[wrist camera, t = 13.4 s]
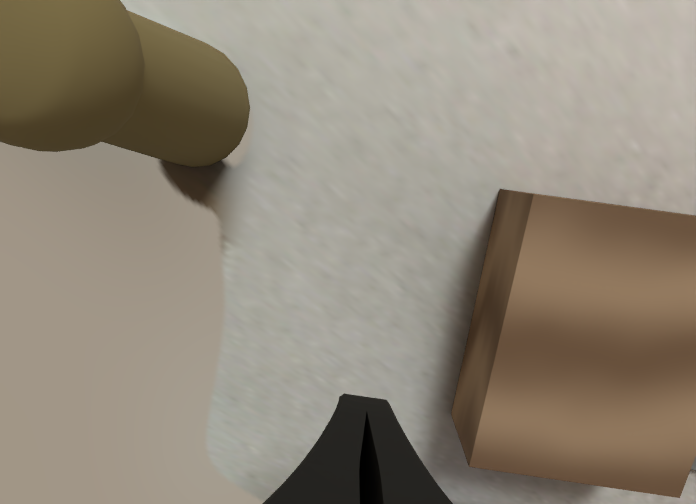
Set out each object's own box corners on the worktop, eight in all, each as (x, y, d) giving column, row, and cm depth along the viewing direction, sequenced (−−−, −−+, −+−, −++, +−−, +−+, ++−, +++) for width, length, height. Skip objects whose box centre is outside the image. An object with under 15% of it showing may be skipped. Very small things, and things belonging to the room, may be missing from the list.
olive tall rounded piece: (200, 12, 18) (-34, -208, 8) (273, 122, 19) (157, 66, 9) (106, 87, 19) (-219, -13, 9) (180, 190, 20) (-29, 214, 9)
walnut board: (624, 439, 22) (679, 497, 18) (451, 414, 22) (469, 466, 18) (698, 216, 19) (783, 228, 15) (500, 188, 19) (533, 194, 16)
